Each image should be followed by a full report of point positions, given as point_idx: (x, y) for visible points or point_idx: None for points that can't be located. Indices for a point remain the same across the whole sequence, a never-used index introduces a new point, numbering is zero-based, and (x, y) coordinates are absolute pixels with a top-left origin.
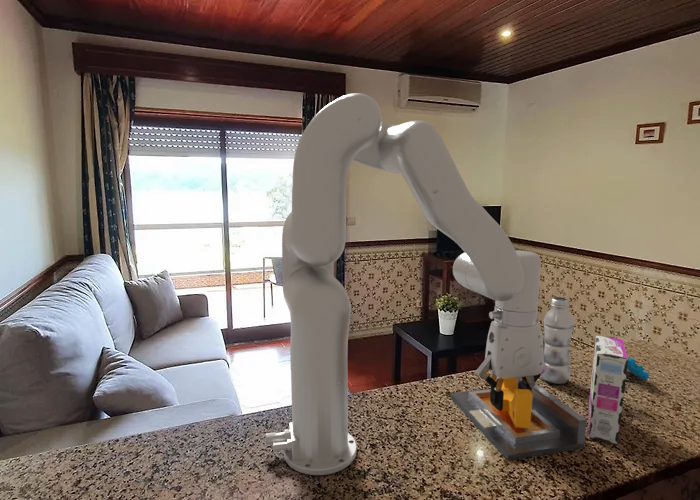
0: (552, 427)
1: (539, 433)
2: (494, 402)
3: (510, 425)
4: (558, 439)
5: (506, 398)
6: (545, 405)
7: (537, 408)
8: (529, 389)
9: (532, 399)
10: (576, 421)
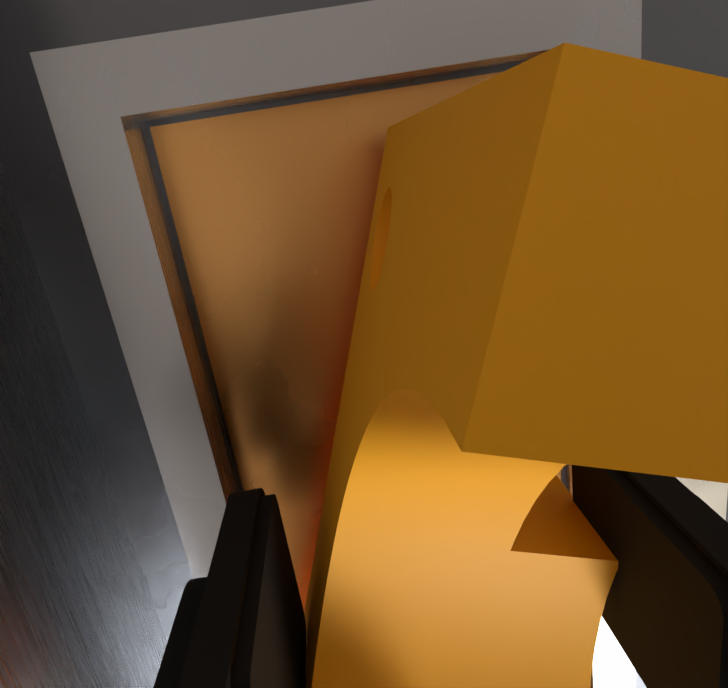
0: (100, 142)
1: (319, 17)
2: (702, 500)
3: None
4: (98, 24)
5: (517, 577)
6: (26, 499)
7: (111, 540)
8: (210, 683)
9: (119, 649)
10: None
